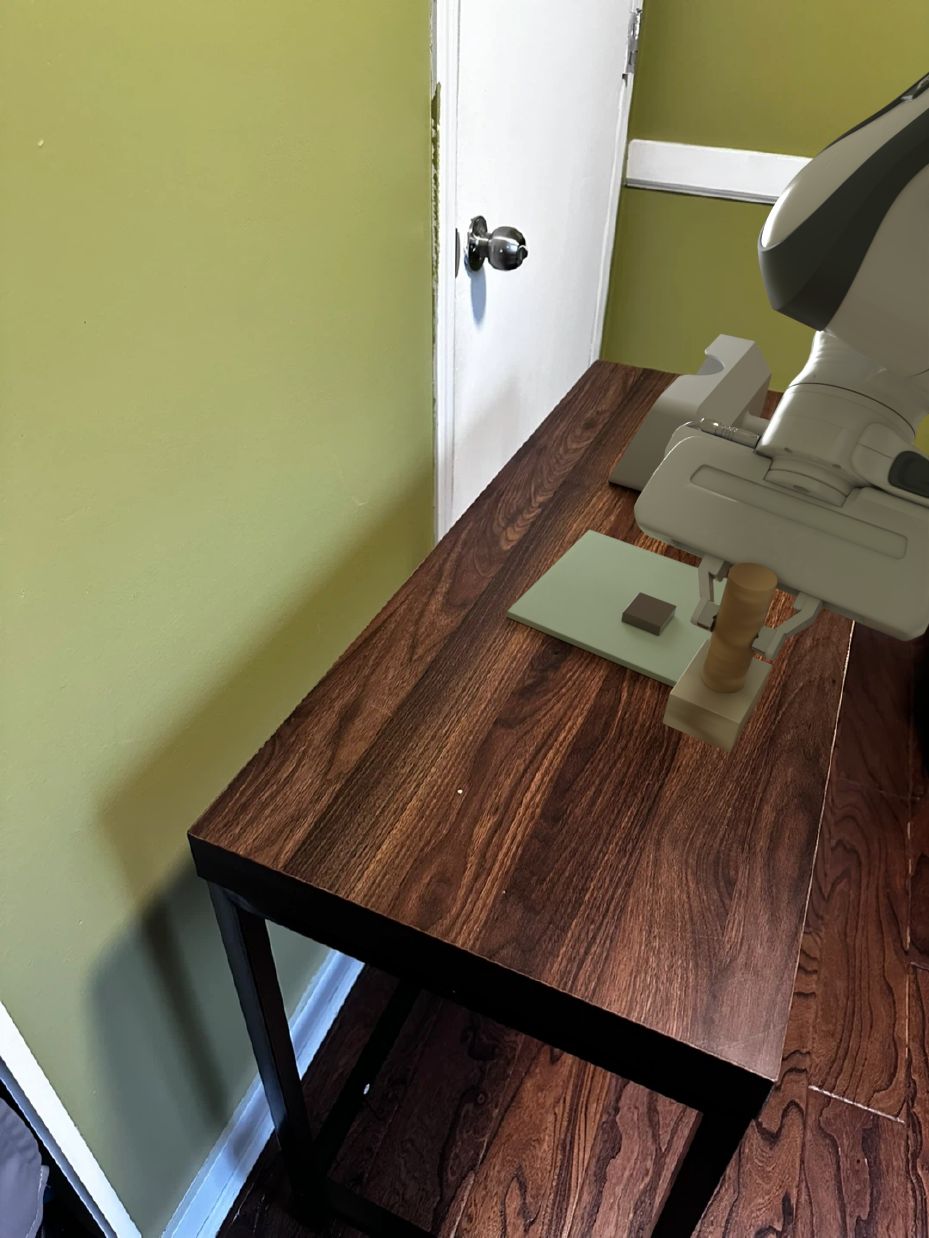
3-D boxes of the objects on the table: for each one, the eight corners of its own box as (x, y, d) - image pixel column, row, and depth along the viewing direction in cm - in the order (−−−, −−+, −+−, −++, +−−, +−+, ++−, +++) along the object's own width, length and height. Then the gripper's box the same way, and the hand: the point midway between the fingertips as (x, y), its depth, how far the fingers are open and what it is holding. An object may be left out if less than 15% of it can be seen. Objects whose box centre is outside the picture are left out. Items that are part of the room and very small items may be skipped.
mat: (761, 597, 89) (763, 591, 88) (697, 697, 77) (698, 691, 76) (588, 535, 97) (589, 529, 96) (506, 617, 85) (506, 610, 85)
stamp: (762, 694, 63) (808, 562, 56) (729, 753, 59) (775, 618, 51) (698, 668, 65) (734, 537, 58) (662, 723, 61) (696, 589, 53)
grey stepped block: (731, 523, 100) (757, 425, 92) (604, 485, 106) (618, 389, 98) (785, 439, 117) (811, 350, 109) (673, 410, 123) (690, 323, 115)
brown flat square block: (674, 615, 85) (676, 605, 84) (658, 636, 82) (660, 626, 81) (637, 600, 86) (639, 591, 86) (620, 621, 84) (622, 611, 83)
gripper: (677, 391, 59) (585, 570, 59) (994, 493, 50) (884, 704, 50) (693, 428, 65) (609, 591, 65) (981, 525, 55) (882, 715, 55)
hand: (731, 641), depth 57 cm, fingers closed on stamp, 3 cm apart
